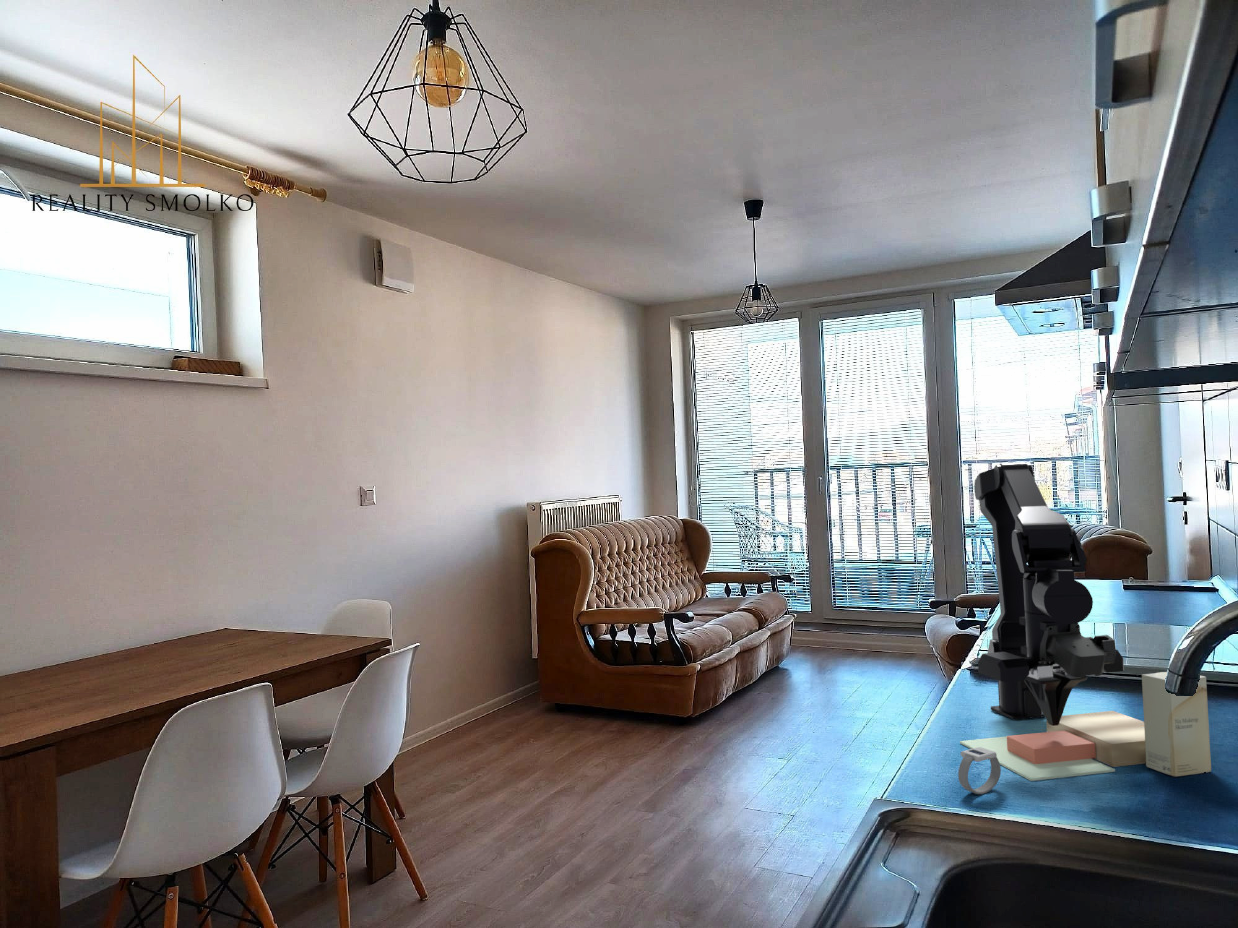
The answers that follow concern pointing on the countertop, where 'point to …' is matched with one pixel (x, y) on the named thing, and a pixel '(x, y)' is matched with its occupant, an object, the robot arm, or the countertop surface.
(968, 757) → the wristwatch
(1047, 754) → the salmon pink brick
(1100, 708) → the countertop surface
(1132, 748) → the board
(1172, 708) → the skincare box
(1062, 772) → the mat
